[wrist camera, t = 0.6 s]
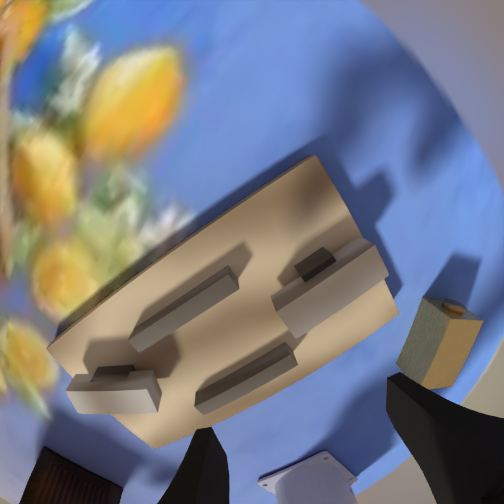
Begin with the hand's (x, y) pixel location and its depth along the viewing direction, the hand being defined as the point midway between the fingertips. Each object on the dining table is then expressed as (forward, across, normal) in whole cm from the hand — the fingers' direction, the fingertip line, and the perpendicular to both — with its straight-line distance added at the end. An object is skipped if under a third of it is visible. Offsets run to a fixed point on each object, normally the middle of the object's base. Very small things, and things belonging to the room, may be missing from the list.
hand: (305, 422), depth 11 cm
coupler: (+10, -12, +6) cm, 17 cm away
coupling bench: (+10, +4, 0) cm, 10 cm away
